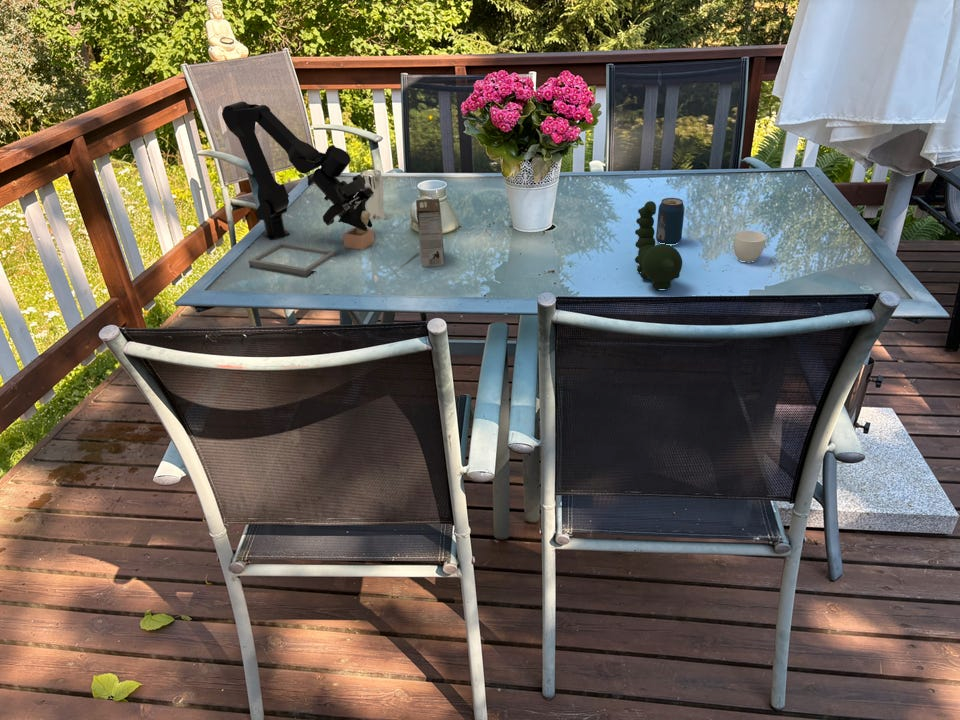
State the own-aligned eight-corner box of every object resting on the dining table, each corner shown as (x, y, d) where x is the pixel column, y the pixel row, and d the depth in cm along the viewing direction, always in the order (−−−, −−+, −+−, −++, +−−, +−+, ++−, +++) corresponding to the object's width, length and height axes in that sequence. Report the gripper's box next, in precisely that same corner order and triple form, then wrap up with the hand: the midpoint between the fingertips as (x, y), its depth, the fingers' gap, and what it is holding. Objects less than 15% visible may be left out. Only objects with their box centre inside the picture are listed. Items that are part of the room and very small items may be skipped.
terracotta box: (345, 250, 204) (342, 234, 202) (357, 242, 209) (355, 226, 206) (363, 253, 202) (360, 236, 199) (374, 245, 207) (372, 229, 204)
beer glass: (383, 223, 222) (377, 176, 214) (362, 222, 223) (355, 175, 216) (390, 215, 228) (384, 169, 220) (369, 214, 229) (363, 169, 221)
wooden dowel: (351, 246, 205) (348, 210, 199) (356, 243, 207) (353, 207, 201) (370, 250, 203) (367, 213, 197) (374, 247, 204) (371, 211, 198)
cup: (734, 266, 183) (738, 241, 179) (726, 251, 191) (729, 227, 188) (765, 265, 182) (769, 241, 179) (755, 250, 191) (759, 227, 187)
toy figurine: (624, 267, 189) (650, 301, 167) (627, 197, 181) (654, 223, 158) (658, 265, 190) (689, 298, 167) (663, 195, 181) (696, 220, 159)
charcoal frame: (249, 267, 197) (248, 260, 196) (282, 248, 208) (280, 242, 207) (306, 277, 189) (305, 270, 188) (337, 257, 200) (336, 251, 199)
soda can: (683, 239, 200) (687, 198, 193) (678, 248, 194) (682, 206, 188) (658, 236, 202) (662, 195, 196) (653, 245, 197) (656, 204, 191)
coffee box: (421, 254, 199) (415, 199, 191) (443, 252, 200) (439, 197, 191) (421, 267, 191) (416, 210, 183) (445, 265, 192) (440, 209, 183)
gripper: (324, 178, 187) (364, 223, 188) (363, 159, 201) (400, 200, 202) (306, 204, 194) (344, 246, 195) (345, 183, 208) (381, 223, 209)
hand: (368, 228), depth 200 cm, fingers closed on wooden dowel, 2 cm apart
